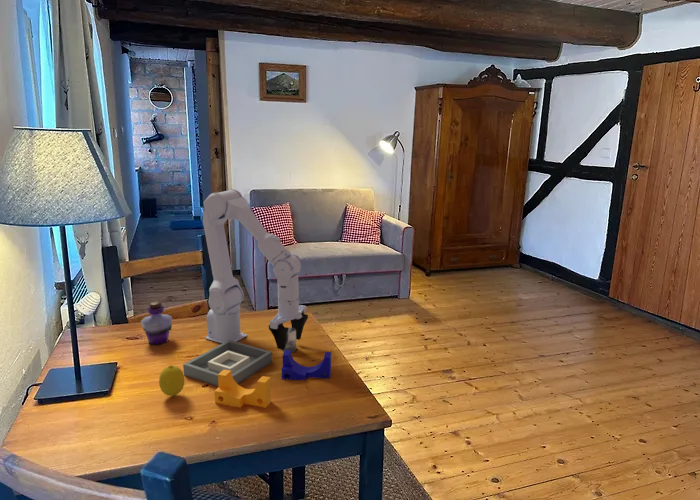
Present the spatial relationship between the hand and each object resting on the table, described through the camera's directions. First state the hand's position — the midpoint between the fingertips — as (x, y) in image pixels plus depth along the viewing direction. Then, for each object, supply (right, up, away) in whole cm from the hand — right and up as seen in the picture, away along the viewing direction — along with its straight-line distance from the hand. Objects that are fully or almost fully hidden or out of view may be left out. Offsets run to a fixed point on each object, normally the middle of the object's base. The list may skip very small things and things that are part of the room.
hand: (289, 343), depth 142 cm
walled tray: (-14, -4, -11) cm, 18 cm away
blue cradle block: (+6, -6, -14) cm, 16 cm away
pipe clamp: (-7, -9, -26) cm, 29 cm away
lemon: (-24, -8, -24) cm, 35 cm away
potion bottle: (-39, 0, +4) cm, 39 cm away
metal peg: (0, -2, 0) cm, 2 cm away
